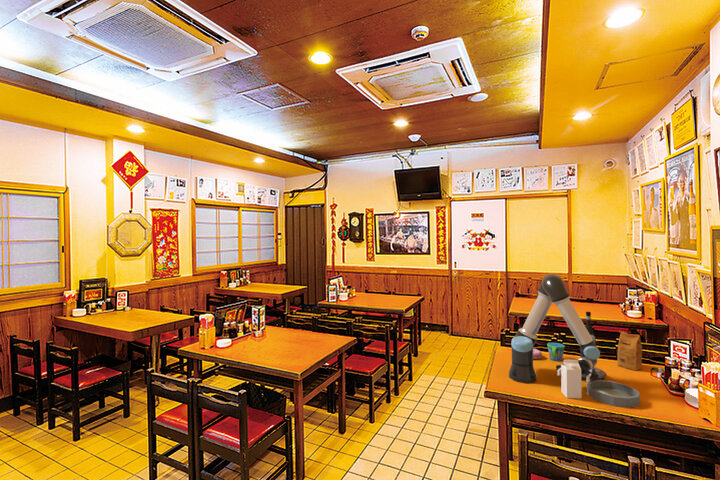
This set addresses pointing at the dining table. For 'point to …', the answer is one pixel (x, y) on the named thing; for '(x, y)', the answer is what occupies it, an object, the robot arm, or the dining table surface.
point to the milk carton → (571, 379)
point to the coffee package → (630, 351)
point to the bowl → (613, 393)
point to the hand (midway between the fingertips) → (572, 376)
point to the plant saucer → (598, 371)
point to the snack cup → (556, 351)
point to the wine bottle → (589, 323)
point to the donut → (536, 354)
